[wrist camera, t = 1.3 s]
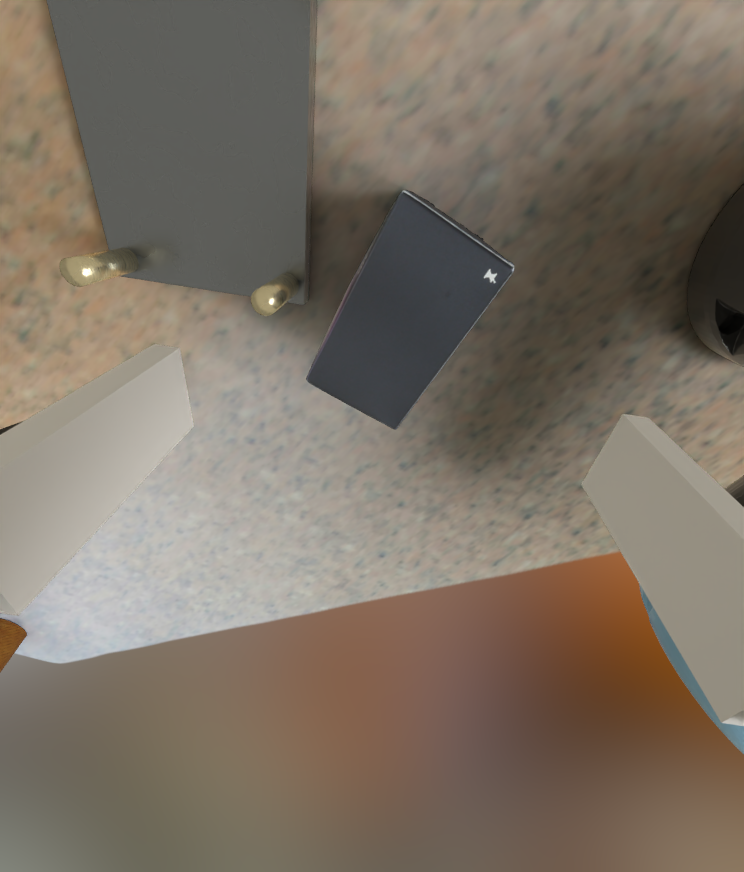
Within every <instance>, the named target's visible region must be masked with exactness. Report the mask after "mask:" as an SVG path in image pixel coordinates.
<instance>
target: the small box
mask: <svg viewBox="0 0 744 872" xmlns="http://www.w3.org/2000/svg"><path fill="white" fill-rule="evenodd" d="M513 272H514V264H513V263H512V262H510V261H508V260H507V259H505V258H504V257H503V256H502V255H500V254H499V253H498V252H497V251H495V250H494V249H493V248H492V247H491V246H489V245H488V244H487V243H485V242H484V241H483V238H480V237H479V236H478V235H476V234H473V233H472V232H470V231H469V230H468V229H467V228H465V227H464V226H463V225H461V224H459V223H458V222H456V221H455V220H453V219H452V218H450V217H449V216H447V215H446V214H445V213H443V212H442V211H440V210H439V209H437V208H436V207H435V206H434V205H433V204H432V203H430V202H429V201H427V200H425V199H423V198H422V197H420V196H418V195H416V194H415V193H413V192H411V191H408V190H402V191H401V192H400V194H399V196H398V197H397V199H396V201H395V202H394V204H393V206H392V207H391V209H390V211H389V213H388V214H387V216H386V218H385V220H384V222H383V223H382V225H381V227H380V229H379V231H378V232H377V234H376V236H375V238H374V240H373V242H372V244H371V245H370V247H369V249H368V251H367V253H366V255H365V257H364V258H363V260H362V262H361V264H360V266H359V268H358V270H357V272H356V273H355V275H354V277H353V279H352V281H351V283H350V285H349V287H348V289H347V291H346V293H345V295H344V297H343V300H342V302H341V304H340V306H339V308H338V310H337V312H336V314H335V316H334V318H333V320H332V323H331V325H330V327H329V329H328V331H327V333H326V335H325V337H324V339H323V342H322V344H321V346H320V348H319V350H318V353H317V355H316V357H315V359H314V362H313V364H312V366H311V369H310V371H309V373H308V376H307V378H306V380H307V381H308V382H309V383H311V384H312V385H314V386H315V387H317V388H319V389H321V390H322V391H324V392H326V393H328V394H330V395H331V396H333V397H335V398H337V399H339V400H341V401H342V402H344V403H346V404H348V405H350V406H352V407H353V408H356V409H357V410H359V411H361V412H363V413H364V414H366V415H368V416H370V417H372V418H374V419H376V420H377V421H379V422H381V423H383V424H385V425H387V426H389V427H391V428H392V429H397V428H398V426H399V425H400V424H401V422H402V421H403V420H404V418H405V417H406V416H407V414H408V413H409V412H410V410H411V409H412V408H413V406H414V405H415V404H416V403H417V401H418V400H419V398H420V397H421V396H422V394H423V393H424V392H425V390H426V389H427V388H428V386H429V385H430V384H431V382H432V381H433V380H434V378H435V377H436V376H437V374H438V373H439V372H440V370H441V369H442V368H443V366H444V365H445V364H446V362H447V361H448V360H449V358H450V357H451V356H452V354H453V353H454V351H455V350H456V349H457V348H458V346H459V345H460V343H461V342H462V340H463V339H464V338H465V337H466V335H467V334H468V333H469V331H470V330H471V329H472V327H473V326H474V325H475V323H476V322H477V321H478V319H479V318H480V317H481V315H482V314H483V313H484V311H485V310H486V309H487V307H488V306H489V305H490V303H491V302H492V300H493V299H494V298H495V297H496V295H497V294H498V292H499V291H500V290H501V288H502V287H503V285H504V284H505V283H506V281H507V280H508V279H509V278H510V276H511V275H512V274H513Z"/></svg>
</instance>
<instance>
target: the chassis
mask: <svg viewBox="0 0 744 872" xmlns="http://www.w3.org/2000/svg"><path fill="white" fill-rule="evenodd" d="M47 4H48V8H49V12H50V16H51V20H52V24H53V28H54V32H55V36H56V40H57V44H58V48H59V52H60V56H61V60H62V64H63V68H64V72H65V76H66V80H67V84H68V88H69V92H70V96H71V100H72V104H73V108H74V112H75V116H76V120H77V124H78V128H79V132H80V136H81V140H82V144H83V148H84V152H85V156H86V160H87V164H88V168H89V172H90V176H91V180H92V184H93V188H94V192H95V196H96V200H97V204H98V208H99V212H100V216H101V220H102V224H103V228H104V232H105V236H106V240H107V244H108V248H109V250H107V251H102V252H96V253H91V254H86V255H80V256H75V257H69V258H64V259H63V260H61V262H60V271H61V273H62V275H63V277H64V278H65V279H66V280H67V281H68V282H69V283H70V284H72V285H74V286H77V287H82V286H86V285H89V284H93V283H97V282H100V281H104V280H107V279H111V278H114V277H118V276H122V277H128V278H134V279H141V280H147V281H154V282H160V283H166V284H173V285H179V286H186V287H192V288H199V289H205V290H211V291H218V292H224V293H231V294H237V295H243V296H250V297H251V304H252V306H253V308H254V310H255V311H256V312H257V313H259V314H260V315H263V316H270V315H272V314H274V313H275V312H276V311H277V310H278V309H279V308H280V307H282V306H283V305H284V304H285V303H286V302H288V303H295V304H301V305H304V304H305V303H306V302H307V301H308V300H309V273H310V238H311V204H312V169H313V134H314V99H315V65H316V30H317V0H47Z"/></svg>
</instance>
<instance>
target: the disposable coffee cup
mask: <svg viewBox="0 0 744 872" xmlns="http://www.w3.org/2000/svg"><path fill="white" fill-rule="evenodd" d="M26 636H27V633H26V631H25V630H24V629H23V628H21V627H20V626H19V625H17V624H15V623H13V622H11V621H8V620H4V619H0V672H1V671H2V669H3V668H4V666H5V665H6V664H7V662H8V661H9V660H10V658H11V657H12V655H13V654H14V653H15V651H16V650H17V648H18V647H19V645H20V644H21V643H22V641H23V640H24V638H25V637H26Z"/></svg>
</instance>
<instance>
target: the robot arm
mask: <svg viewBox="0 0 744 872" xmlns="http://www.w3.org/2000/svg"><path fill="white" fill-rule="evenodd" d="M687 306H688V313H689V318H690V321H691V324H692V327H693V329H694V331H695V333H696V334H697V336H698V337H699V339H700V340H701V341H702V342H703V343H704V344H705V345H706V346H707V347H708V348H709V349H711V350H712V351H714V352H715V353H717V354H719V355H721V356H723V357H725V358H727V359H728V360H730V361H732V362H734V363H736V364H738V365H740V366H743V367H744V184H743V185H742V187H741V188H740V189H739V190H738V191H737V192H736V193H735V195H734V196H733V197H732V198H731V199H730V201H729V202H728V203H727V204H726V206H725V207H724V208H723V210H722V211H721V213H720V214H719V215H718V217H717V218H716V220H715V221H714V223H713V225H712V226H711V228H710V230H709V231H708V233H707V235H706V237H705V239H704V241H703V242H702V245H701V247H700V249H699V251H698V253H697V256H696V259H695V261H694V264H693V267H692V271H691V275H690V279H689V284H688V293H687ZM193 427H194V423H193V417H192V412H191V406H190V401H189V395H188V390H187V384H186V379H185V373H184V368H183V362H182V357H181V351H180V348H178V347H171V346H165V345H158V344H153V345H151V346H150V347H148V348H146V349H145V350H143V351H141V352H140V353H138V354H136V355H135V356H133V357H131V358H129V359H128V360H126V361H124V362H123V363H121V364H119V365H118V366H116V367H114V368H113V369H111V370H109V371H108V372H106V373H104V374H102V375H101V376H99V377H97V378H96V379H94V380H92V381H91V382H89V383H87V384H86V385H84V386H82V387H80V388H79V389H77V390H75V391H74V392H72V393H70V394H69V395H67V396H65V397H64V398H62V399H60V400H58V401H57V402H55V403H53V404H52V405H50V406H48V407H47V408H45V409H43V410H42V411H40V412H38V413H37V414H35V415H33V416H31V417H30V418H28V419H26V420H25V421H22V422H20V423H17V424H14V425H11V426H9V427H6V428H3V429H0V613H3V614H10V615H16V616H19V615H20V614H21V613H22V612H23V611H24V610H25V609H26V607H27V606H28V605H29V604H30V603H31V602H32V601H33V600H34V599H35V598H36V597H37V596H38V594H39V593H40V592H41V591H42V590H43V589H44V588H45V587H46V586H47V585H48V584H49V583H50V581H51V580H52V579H53V578H54V577H55V576H56V575H57V574H58V573H59V572H60V571H61V570H62V568H63V567H64V566H65V565H66V564H67V563H68V562H69V561H70V560H71V559H72V558H73V557H74V556H75V554H76V553H77V552H78V551H79V550H80V549H81V548H82V547H83V546H84V545H85V544H86V543H87V541H88V540H89V539H90V538H91V537H92V536H93V535H94V534H95V533H96V532H97V531H98V530H99V528H100V527H101V526H102V525H103V524H104V523H105V522H106V521H107V520H108V519H109V518H110V517H111V515H112V514H113V513H114V512H115V511H116V510H117V509H118V508H119V507H120V506H121V505H122V504H123V502H124V501H125V500H126V499H127V498H128V497H129V496H130V495H131V494H132V493H133V492H134V491H135V490H136V488H137V487H138V486H139V485H140V484H141V483H142V482H143V481H144V480H145V479H146V478H147V477H148V475H149V474H150V473H151V472H152V471H153V470H154V469H155V468H156V467H157V466H158V465H159V464H160V462H161V461H162V460H163V459H164V458H165V457H166V456H167V455H168V454H169V453H170V452H171V451H172V449H173V448H174V447H175V446H176V445H177V444H178V443H179V442H180V441H181V440H182V439H183V438H184V436H185V435H186V434H187V433H188V432H189V431H190V430H191V429H192V428H193ZM581 485H582V487H583V488H584V490H585V492H586V493H587V495H588V497H589V499H590V500H591V502H592V504H593V505H594V507H595V509H596V510H597V512H598V514H599V516H600V517H601V519H602V521H603V522H604V524H605V526H606V527H607V529H608V531H609V533H610V534H611V536H612V538H613V539H614V541H615V543H616V544H617V546H618V548H619V550H620V551H621V553H622V555H623V556H624V558H625V560H626V561H627V563H628V565H629V567H630V568H631V570H632V572H633V573H634V575H635V577H636V579H637V580H638V582H639V585H640V591H641V596H642V600H643V602H644V605H645V608H646V610H647V612H648V615H649V619H650V623H651V625H652V627H653V630H654V632H655V634H656V636H657V638H658V640H659V642H660V644H661V646H662V647H663V649H664V651H665V653H666V655H667V657H668V658H669V660H670V662H671V663H672V665H673V667H674V668H675V670H676V672H677V673H678V675H679V676H680V678H681V679H682V681H683V682H684V684H685V685H686V686H687V688H688V689H689V691H690V692H691V693H692V695H693V696H694V698H695V699H696V700H697V702H698V703H699V704H700V705H701V707H702V708H703V709H704V711H705V712H706V713H707V715H708V716H709V717H710V718H711V720H712V721H713V722H714V723H715V724H716V725H717V726H718V728H719V729H720V730H721V731H722V732H723V733H724V734H725V735H726V736H727V738H728V739H729V740H730V741H731V742H732V743H733V744H734V745H735V746H736V747H737V748H738V749H739V750H740V751H741V752H742V753H743V754H744V475H743V476H742V477H741V478H739V479H738V480H736V481H735V482H734V483H732V484H731V485H729V486H728V487H727V488H725V489H724V488H723V487H722V486H721V485H720V484H718V483H717V482H716V481H715V480H714V479H713V478H712V477H711V476H710V475H709V474H708V473H707V472H706V471H705V470H704V469H703V468H701V467H700V466H699V465H698V464H697V463H696V462H695V461H694V460H693V459H692V458H691V457H690V456H689V455H688V454H687V453H686V452H684V451H683V450H682V449H681V448H680V447H679V446H678V445H677V444H676V443H675V442H674V441H673V440H672V439H671V438H670V437H669V436H668V435H666V434H665V433H664V432H663V431H662V430H661V429H660V428H659V427H658V426H657V425H656V424H655V423H654V422H653V421H652V420H651V419H649V418H648V417H641V416H634V415H627V414H622V416H621V417H620V419H619V421H618V422H617V424H616V426H615V428H614V429H613V431H612V433H611V434H610V436H609V438H608V439H607V441H606V443H605V444H604V446H603V448H602V450H601V451H600V453H599V455H598V456H597V458H596V460H595V461H594V463H593V465H592V466H591V468H590V470H589V472H588V473H587V475H586V477H585V478H584V480H583V482H582V483H581Z"/></svg>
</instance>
